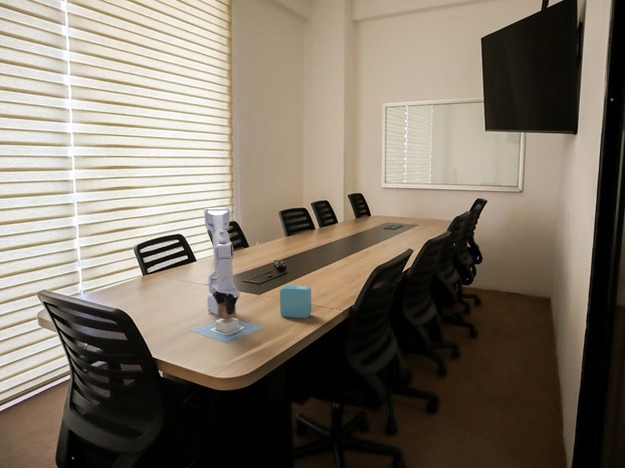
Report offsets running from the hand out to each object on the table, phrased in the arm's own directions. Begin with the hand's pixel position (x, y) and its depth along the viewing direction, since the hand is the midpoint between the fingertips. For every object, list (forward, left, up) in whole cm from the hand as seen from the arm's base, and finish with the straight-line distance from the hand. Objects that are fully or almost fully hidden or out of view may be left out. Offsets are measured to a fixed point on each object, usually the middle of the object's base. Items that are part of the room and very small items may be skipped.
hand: (226, 312), depth 164 cm
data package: (+10, +28, -8) cm, 31 cm away
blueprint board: (0, 0, -7) cm, 7 cm away
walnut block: (0, 0, -2) cm, 2 cm away
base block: (0, 0, -6) cm, 6 cm away
